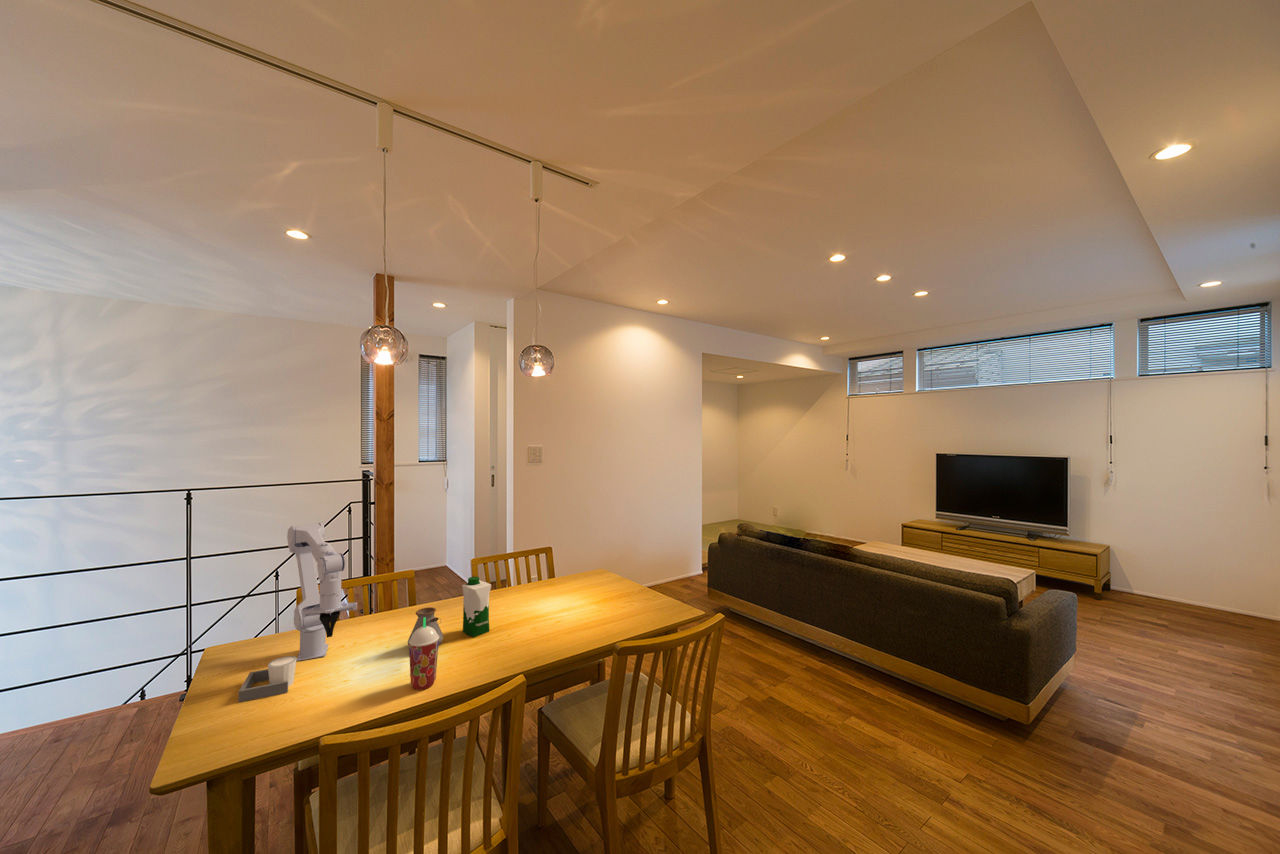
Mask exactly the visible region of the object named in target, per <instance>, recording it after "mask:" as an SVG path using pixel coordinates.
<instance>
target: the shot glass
mask: <svg viewBox="0 0 1280 854" xmlns="http://www.w3.org/2000/svg"><path fill="white" fill-rule="evenodd" d="M296 659H297V657H296V656H293V655H290V656H289V655H287V656H282V657H277V658H274V659H273V660H271V661H269V663H268V664H267V669H268V673H269V680H268V681H269V684H273V683H279V682H284V681H288V687H290V686H292V685H293V684H294V681H295V675H294V674H296V665H297V661H296Z"/></svg>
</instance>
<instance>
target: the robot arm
mask: <svg viewBox="0 0 1280 854" xmlns="http://www.w3.org/2000/svg"><path fill="white" fill-rule="evenodd" d="M325 533H326V532H325V525H324V524H323V523H322V522H317V523H310V524H300V525H295V526H294V525H290V527H289V528H288V529H287V535H286V537H287V538H286V540H287V546H288V549H289V552H290V553H292V554H295V558H296V562H297V569H298V575H299V577H298V578H299V582H300V591H301V597H302V601H300V602H299V603H298V604H297V605H296V606H295V608H294V610H293V624H294V628H295V630H297V631H299V652H298V655H297V657H296V658H297V659H296V662H299V661H305V660H311V659H316V658H317V659H318V658H324V657H325V656H326V655H327V651H328V650H329V649H328V648H329V643H326V641H327V640H326V639H327V638H332V637H333V633H334V630H335V629H334V628H335V625H336V623H337V621H338V619H339V617H340V614H341V612H347V611H357V609H358V602H342V572H344V571H345V567H346V559H345V556H344V554H343V553H342V552H336V550H335V548H334V547H333V546H332V544H331V543H329V542H325V540H324V538H325ZM315 562H316V563H317V566H315ZM316 567H317V569H316ZM317 574H318V575H317ZM317 577H318V578H317ZM318 580H319V583H318Z"/></svg>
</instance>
